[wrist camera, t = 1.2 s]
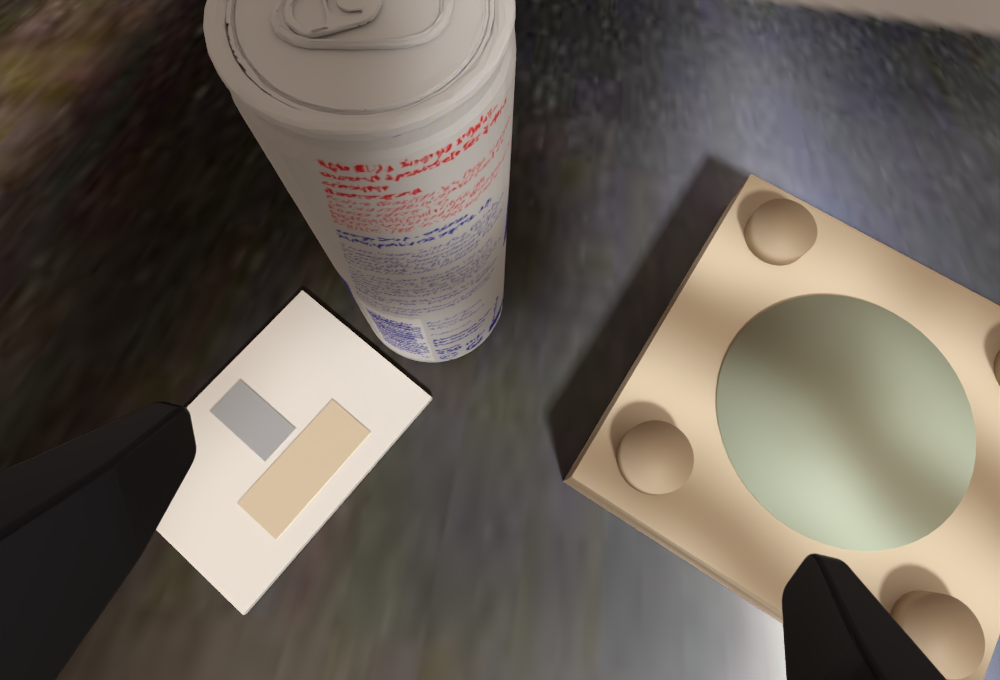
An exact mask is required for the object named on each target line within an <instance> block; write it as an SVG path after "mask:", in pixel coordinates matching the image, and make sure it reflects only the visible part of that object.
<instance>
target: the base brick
mask: <svg viewBox="0 0 1000 680" xmlns="http://www.w3.org/2000/svg"><path fill="white" fill-rule="evenodd" d="M563 482H564V483H566V484H568V485H569V486H571V487H572V488H574V489H575V490H577V491H578V492H580V493H581V494H583V495H585V496H586V497H588V498H589V499H591V500H592V501H594V502H595V503H597V504H598V505H600V506H602V507H603V508H605V509H606V510H608V511H609V512H611V513H612V514H614V515H615V516H617V517H619V518H620V519H622V520H623V521H625V522H626V523H628V524H629V525H631V526H632V527H634V528H636V529H637V530H639V531H640V532H642V533H643V534H645V535H646V536H648V537H650V538H651V539H653V540H654V541H656V542H657V543H659V544H660V545H662V546H663V547H665V548H667V549H668V550H670V551H671V552H673V553H674V554H676V555H677V556H679V557H680V558H682V559H684V560H685V561H687V562H688V563H690V564H691V565H693V566H694V567H696V568H697V569H699V570H701V571H702V572H704V573H705V574H707V575H708V576H710V577H711V578H713V579H714V580H716V581H718V582H719V583H721V584H722V585H724V586H725V587H727V588H728V589H730V590H731V591H733V592H735V593H736V594H738V595H739V596H741V597H742V598H744V599H745V600H747V601H749V602H750V603H752V604H753V605H755V606H756V607H758V608H759V609H761V610H762V611H764V612H766V613H767V614H769V615H770V616H772V617H773V618H775V619H776V620H778V621H779V622H781V623H783V615H782V595H783V590H784V588H785V586H786V584H787V583H788V581H789V580H790V578H791V577H792V576H793V574H794V573H795V571H796V570H797V569H798V567H799V566H800V564H801V563H802V562H803V560H804V559H805V558H806V556H808V555H810V554H812V553H817V554H821V555H825V556H829V557H834V558H838V559H840V560H842V561H843V562H845V563H846V564H847V565H848V566H849V567H850V568H851V569H852V571H853V572H854V573H855V574H856V575H857V576H858V578H859V579H860V580H861V581H862V582H863V583H864V585H865V586H866V587H867V588H868V589H869V590H870V591H871V593H872V594H873V595H874V596H875V597H876V598H877V600H878V601H879V602H880V603H881V604H882V605H883V607H884V608H885V609H886V610H887V611H888V612H889V613H890V615H891V616H892V617H893V618H894V619H895V620H896V622H897V623H898V624H899V625H900V626H901V627H902V628H903V630H904V631H905V632H906V633H907V634H908V635H909V637H910V638H911V639H912V640H913V641H914V642H915V644H916V645H917V646H918V647H919V648H920V649H921V650H922V652H923V653H924V654H925V655H926V656H927V657H928V659H929V660H930V661H931V662H932V663H933V664H934V666H935V667H936V668H937V669H938V670H939V671H940V672H941V674H942V675H943V676H944V677H945V678H946V679H947V680H983V679H984V677H985V674H986V671H987V668H988V665H989V663H990V660H991V657H992V654H993V651H994V649H995V646H996V643H997V640H998V637H999V635H1000V306H999V305H997V304H995V303H993V302H991V301H989V300H987V299H986V298H984V297H982V296H980V295H978V294H976V293H974V292H972V291H970V290H969V289H967V288H965V287H963V286H961V285H959V284H957V283H955V282H954V281H952V280H950V279H948V278H946V277H944V276H942V275H940V274H939V273H937V272H935V271H933V270H931V269H929V268H927V267H925V266H923V265H922V264H920V263H918V262H916V261H914V260H912V259H910V258H908V257H907V256H905V255H903V254H901V253H899V252H897V251H895V250H893V249H892V248H890V247H888V246H886V245H884V244H882V243H880V242H878V241H876V240H875V239H873V238H871V237H869V236H867V235H865V234H863V233H861V232H860V231H858V230H856V229H854V228H852V227H850V226H848V225H846V224H845V223H843V222H841V221H839V220H837V219H835V218H833V217H831V216H830V215H828V214H826V213H824V212H822V211H820V210H818V209H816V208H814V207H813V206H811V205H809V204H807V203H805V202H803V201H801V200H799V199H798V198H796V197H794V196H792V195H790V194H788V193H786V192H784V191H783V190H781V189H779V188H777V187H775V186H773V185H771V184H769V183H767V182H766V181H764V180H762V179H760V178H758V177H756V176H754V175H752V174H750V176H749V177H748V179H747V180H746V181H745V183H744V184H743V185H742V187H741V188H740V189H739V191H738V192H737V193H736V195H735V196H734V197H733V199H732V200H731V201H730V203H729V204H728V205H727V207H726V209H725V210H724V212H723V214H722V215H721V217H720V219H719V220H718V222H717V224H716V225H715V227H714V229H713V231H712V232H711V234H710V236H709V237H708V239H707V241H706V242H705V244H704V246H703V247H702V249H701V251H700V252H699V254H698V256H697V257H696V259H695V261H694V262H693V264H692V266H691V268H690V269H689V271H688V273H687V274H686V276H685V278H684V279H683V281H682V283H681V284H680V286H679V288H678V289H677V291H676V293H675V294H674V296H673V298H672V299H671V301H670V303H669V304H668V306H667V308H666V310H665V311H664V313H663V315H662V316H661V318H660V320H659V321H658V323H657V325H656V326H655V328H654V330H653V331H652V333H651V335H650V336H649V338H648V340H647V341H646V343H645V345H644V347H643V348H642V350H641V352H640V353H639V355H638V357H637V358H636V360H635V362H634V363H633V365H632V367H631V368H630V370H629V372H628V373H627V375H626V377H625V378H624V380H623V382H622V383H621V385H620V387H619V389H618V390H617V392H616V394H615V395H614V397H613V399H612V400H611V402H610V404H609V405H608V407H607V409H606V410H605V412H604V414H603V415H602V417H601V419H600V420H599V422H598V424H597V425H596V427H595V429H594V431H593V432H592V434H591V436H590V437H589V439H588V441H587V442H586V444H585V446H584V447H583V449H582V451H581V452H580V454H579V456H578V457H577V459H576V461H575V462H574V464H573V466H572V468H571V469H570V471H569V473H568V474H567V476H566V478H565V479H564V481H563Z"/></svg>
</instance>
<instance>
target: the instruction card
mask: <svg viewBox="0 0 1000 680" xmlns="http://www.w3.org/2000/svg"><path fill="white" fill-rule="evenodd" d="M431 400H432V397H431V396H430V395H428V394H427V393H426V392H425V391H424V390H422V389H421V388H420V387H419V386H418V385H416V384H415V383H414V382H413V381H412V380H410V379H409V378H408V377H407V376H405V375H404V374H403V373H402V372H401V371H399V370H398V369H397V368H396V367H395V366H393V365H392V364H391V363H390V362H389V361H387V360H386V359H385V358H384V357H383V356H381V355H380V354H379V353H378V352H377V351H375V350H374V349H373V348H372V347H370V346H369V345H368V344H367V343H366V342H364V341H363V340H362V339H361V338H360V337H358V336H357V335H356V334H355V333H354V332H352V331H351V330H350V329H349V328H348V327H346V326H345V325H344V324H343V323H342V322H340V321H339V320H338V319H337V318H335V317H334V316H333V315H332V314H331V313H329V312H328V311H327V310H326V309H325V308H323V307H322V306H321V305H320V304H319V303H317V302H316V301H315V300H314V299H313V298H311V297H310V296H309V295H308V294H307V293H305V292H304V291H303V290H302V291H301V292H300V293H299V294H298V295H297V296H296V297H295V298H294V299H293V300H292V301H291V302H290V303H289V304H288V305H287V306H286V307H285V308H284V309H283V310H282V311H281V312H280V313H279V314H278V315H277V316H276V317H275V318H274V319H273V320H272V321H271V322H270V323H269V325H268V326H267V327H266V328H265V329H264V330H263V331H262V332H261V333H260V334H259V335H258V336H257V337H256V338H255V339H254V340H253V341H252V342H251V343H250V344H249V345H248V346H247V347H246V348H245V349H244V350H243V351H242V352H241V353H240V354H239V355H238V356H237V357H236V358H235V359H234V360H233V361H232V362H231V363H230V364H229V365H228V366H227V367H226V368H225V369H224V370H223V371H222V372H221V373H220V374H219V375H218V376H217V377H216V378H215V379H214V380H213V381H212V382H211V383H210V384H209V385H208V386H207V387H206V388H205V389H204V390H203V391H202V392H201V393H200V394H199V395H198V396H197V397H196V399H195V400H194V401H193V402H192V403H191V404H190V405H189V406H188V407H187V409H188V411H189V412H190V415H191V420H192V425H193V431H194V436H195V441H196V455H195V459H194V461H193V463H192V465H191V467H190V469H189V471H188V473H187V474H186V476H185V478H184V480H183V482H182V483H181V485H180V487H179V489H178V491H177V493H176V494H175V496H174V498H173V500H172V502H171V503H170V505H169V507H168V509H167V511H166V512H165V514H164V516H163V518H162V520H161V522H160V523H159V525H158V527H157V529H156V530H157V531H158V532H159V533H160V534H161V535H162V536H163V537H164V538H165V539H166V540H167V541H168V542H169V543H170V544H171V545H172V546H173V547H174V548H175V549H176V550H177V551H178V552H179V553H180V554H181V555H182V556H183V557H185V558H186V559H187V560H188V561H189V562H190V563H191V564H192V565H193V566H194V567H195V568H196V569H197V570H198V571H199V572H200V573H201V574H202V575H203V576H204V577H205V578H206V579H207V580H208V581H209V582H210V583H211V584H212V585H213V586H214V587H215V588H216V589H217V590H218V591H219V592H220V593H221V594H222V595H223V596H224V597H225V598H226V599H227V600H228V601H229V602H230V603H231V604H232V605H233V606H234V607H235V608H236V609H237V610H239V611H240V612H241V613H242V614H243V615H245V614H247V613H248V612H249V610H250V609H251V608H252V607H253V606H254V605H255V603H256V602H257V601H258V600H259V599H260V598H261V597H262V595H263V594H264V593H265V592H266V591H267V590H268V588H269V587H270V586H271V585H272V584H273V583H274V582H275V580H276V579H277V578H278V577H279V576H280V575H281V573H282V572H283V571H284V570H285V569H286V568H287V566H288V565H289V564H290V563H291V562H292V561H293V560H294V558H295V557H296V556H297V555H298V554H299V553H300V551H301V550H302V549H303V548H304V547H305V546H306V545H307V543H308V542H309V541H310V540H311V539H312V538H313V536H314V535H315V534H316V533H317V532H318V531H319V530H320V528H321V527H322V526H323V525H324V524H325V523H326V521H327V520H328V519H329V518H330V517H331V516H332V515H333V513H334V512H335V511H336V510H337V509H338V508H339V506H340V505H341V504H342V503H343V502H344V501H345V499H346V498H347V497H348V496H349V495H350V494H351V493H352V491H353V490H354V489H355V488H356V487H357V486H358V484H359V483H360V482H361V481H362V480H363V479H364V478H365V476H366V475H367V474H368V473H369V472H370V471H371V469H372V468H373V467H374V466H375V465H376V464H377V463H378V461H379V460H380V459H381V458H382V457H383V456H384V454H385V453H386V452H387V451H388V450H389V449H390V448H391V446H392V445H393V444H394V443H395V442H396V441H397V439H398V438H399V437H400V436H401V435H402V434H403V432H404V431H405V430H406V429H407V428H408V427H409V426H410V424H411V423H412V422H413V421H414V420H415V419H416V417H417V416H418V415H419V414H420V413H421V412H422V411H423V409H424V408H425V407H426V406H427V405H428V404H429V402H430V401H431Z"/></svg>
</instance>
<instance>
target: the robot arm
mask: <svg viewBox="0 0 1000 680" xmlns="http://www.w3.org/2000/svg"><path fill="white" fill-rule="evenodd" d="M195 455H196V441H195V436H194V431H193V425H192V420H191V415H190V412H189V411H188V409H187V408H186V407H184V406H180V405H175V404H171V403H167V402H156V403H153V404H150V405H148V406H146V407H144V408H141V409H139V410H137V411H135V412H132V413H130V414H128V415H126V416H124V417H121V418H119V419H117V420H115V421H112V422H110V423H108V424H106V425H103V426H101V427H99V428H97V429H94V430H92V431H90V432H88V433H85V434H83V435H81V436H79V437H77V438H74V439H72V440H70V441H68V442H65V443H63V444H61V445H59V446H56V447H54V448H52V449H50V450H47V451H45V452H43V453H41V454H39V455H36V456H34V457H32V458H30V459H27V460H25V461H23V462H21V463H18V464H16V465H14V466H12V467H9V468H7V469H5V470H3V471H1V472H0V680H55V679H56V678H57V676H58V675H59V674H60V672H61V671H62V669H63V668H64V666H65V665H66V663H67V662H68V661H69V659H70V658H71V656H72V655H73V653H74V652H75V651H76V649H77V648H78V646H79V645H80V643H81V642H82V640H83V639H84V638H85V636H86V635H87V633H88V632H89V630H90V629H91V628H92V626H93V625H94V623H95V622H96V620H97V619H98V617H99V616H100V615H101V613H102V612H103V610H104V609H105V607H106V606H107V605H108V603H109V602H110V600H111V599H112V597H113V596H114V594H115V593H116V592H117V590H118V589H119V587H120V586H121V584H122V583H123V582H124V580H125V579H126V577H127V576H128V574H129V573H130V571H131V570H132V568H133V567H134V565H135V564H136V562H137V561H138V559H139V558H140V556H141V555H142V553H143V551H144V550H145V548H146V546H147V545H148V543H149V541H150V540H151V538H152V536H153V534H154V532H155V531H156V529H157V527H158V525H159V523H160V522H161V520H162V518H163V516H164V514H165V512H166V511H167V509H168V507H169V505H170V503H171V502H172V500H173V498H174V496H175V494H176V493H177V491H178V489H179V487H180V485H181V483H182V482H183V480H184V478H185V476H186V474H187V473H188V471H189V469H190V467H191V465H192V463H193V461H194V459H195ZM782 615H783V630H784V645H785V660H786V675H787V680H947V679H946V678H945V677H944V676H943V675H942V674H941V672H940V671H939V670H938V669H937V668H936V667H935V666H934V664H933V663H932V662H931V661H930V660H929V659H928V657H927V656H926V655H925V654H924V653H923V652H922V650H921V649H920V648H919V647H918V646H917V645H916V644H915V642H914V641H913V640H912V639H911V638H910V637H909V635H908V634H907V633H906V632H905V631H904V630H903V628H902V627H901V626H900V625H899V624H898V623H897V622H896V620H895V619H894V618H893V617H892V616H891V615H890V613H889V612H888V611H887V610H886V609H885V608H884V607H883V605H882V604H881V603H880V602H879V601H878V600H877V598H876V597H875V596H874V595H873V594H872V593H871V591H870V590H869V589H868V588H867V587H866V586H865V585H864V583H863V582H862V581H861V580H860V579H859V578H858V576H857V575H856V574H855V573H854V572H853V571H852V569H851V568H850V567H849V566H848V565H847V564H846V563H845V562H843V561H842V560H840V559H838V558H834V557H829V556H825V555H821V554H817V553H812V554H810V555H808V556H806V558H805V559H804V560H803V562H802V563H801V564H800V566H799V567H798V569H797V570H796V571H795V573H794V574H793V576H792V577H791V578H790V580H789V581H788V583H787V584H786V586H785V588H784V590H783V595H782Z"/></svg>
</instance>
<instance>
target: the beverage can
mask: <svg viewBox="0 0 1000 680" xmlns="http://www.w3.org/2000/svg"><path fill="white" fill-rule="evenodd" d="M514 22H515V0H207V2H206V5H205V9H204V24H203V29H204V35H205V40H206V45H207V50H208V54H209V56H210V58H211V60H212V62H213V65H214V67H215V69H216V71H217V73H218V75H219V76H220V78H221V79H222V81H223V82H224V84H225V86H226V87H227V88H228V89H229V90H230V93H231V95H232V98H233V101H234V103H235V105H236V106H237V108H238V110H239V112H240V113H241V115H242V117H243V118H244V120H245V122H246V123H247V125H248V127H249V128H250V130H251V131H252V133H253V135H254V136H255V138H256V140H257V141H258V143H259V144H260V146H261V148H262V149H263V151H264V153H265V154H266V156H267V158H268V159H269V161H270V162H271V164H272V166H273V167H274V169H275V171H276V172H277V174H278V176H279V177H280V179H281V180H282V182H283V184H284V185H285V187H286V189H287V190H288V192H289V194H290V195H291V197H292V198H293V200H294V202H295V203H296V205H297V207H298V208H299V210H300V212H301V213H302V215H303V216H304V218H305V220H306V221H307V223H308V225H309V226H310V228H311V229H312V231H313V233H314V234H315V236H316V238H317V239H318V241H319V243H320V244H321V246H322V247H323V249H324V251H325V252H326V254H327V256H328V257H329V259H330V261H331V262H332V264H333V265H334V267H335V269H336V270H337V272H338V274H339V275H340V277H341V279H342V280H343V282H344V283H345V285H346V287H347V288H348V290H349V292H350V293H351V295H352V297H353V298H354V300H355V301H356V303H357V305H358V306H359V308H360V310H361V311H362V313H363V314H364V316H365V318H366V319H367V321H368V323H369V324H370V326H371V328H372V329H373V331H374V332H375V334H376V335H377V337H378V338H379V339H380V340H381V341H382V342H383V343H384V344H385V345H386V346H387V347H388V348H390V349H391V350H393V351H394V352H396V353H397V354H399V355H401V356H404V357H406V358H409V359H412V360H416V361H421V362H443V361H448V360H452V359H456V358H458V357H461V356H463V355H465V354H467V353H469V352H471V351H472V350H474V349H475V348H477V347H478V346H479V345H480V344H481V343H483V342H484V341H485V339H486V338H487V337H488V336H489V335H490V334H491V333H492V331H493V329H494V327H495V326H496V324H497V322H498V320H499V317H500V315H501V311H502V306H503V290H504V271H505V253H506V234H507V215H508V196H509V177H510V158H511V139H512V120H513V102H514V83H515V64H516V41H515V28H514Z"/></svg>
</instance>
